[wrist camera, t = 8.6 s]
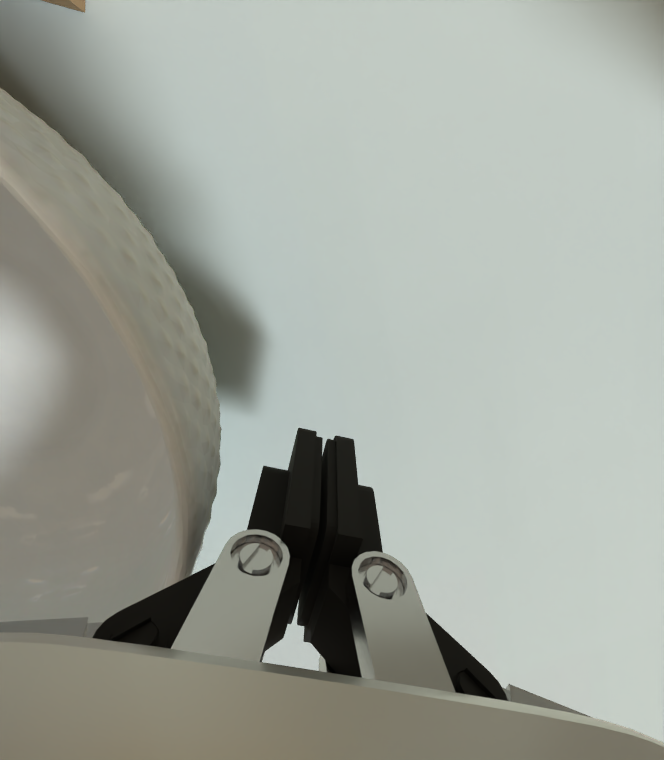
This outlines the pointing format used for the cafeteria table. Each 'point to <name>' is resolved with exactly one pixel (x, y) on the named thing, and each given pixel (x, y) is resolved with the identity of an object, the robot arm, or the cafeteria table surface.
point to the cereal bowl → (93, 392)
